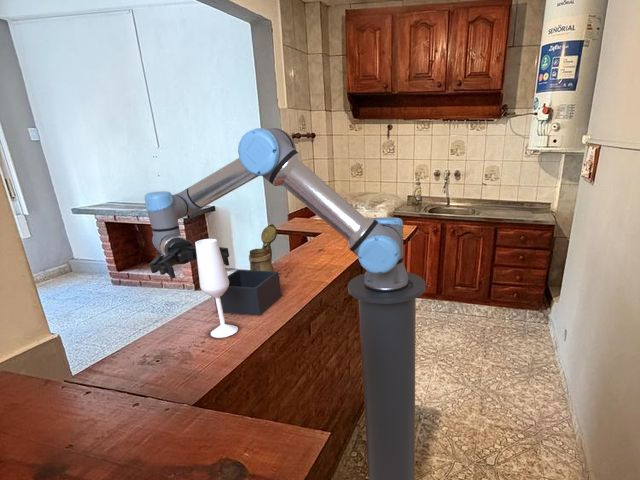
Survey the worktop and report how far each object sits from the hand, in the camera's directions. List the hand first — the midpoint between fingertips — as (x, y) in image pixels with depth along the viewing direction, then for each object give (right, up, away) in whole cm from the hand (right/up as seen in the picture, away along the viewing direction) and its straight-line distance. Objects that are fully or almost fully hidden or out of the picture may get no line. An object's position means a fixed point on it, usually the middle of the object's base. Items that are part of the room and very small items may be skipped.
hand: (201, 266), depth 103 cm
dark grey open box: (+8, -10, +16) cm, 20 cm away
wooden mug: (+8, -3, +34) cm, 35 cm away
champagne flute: (+6, -17, 0) cm, 18 cm away
